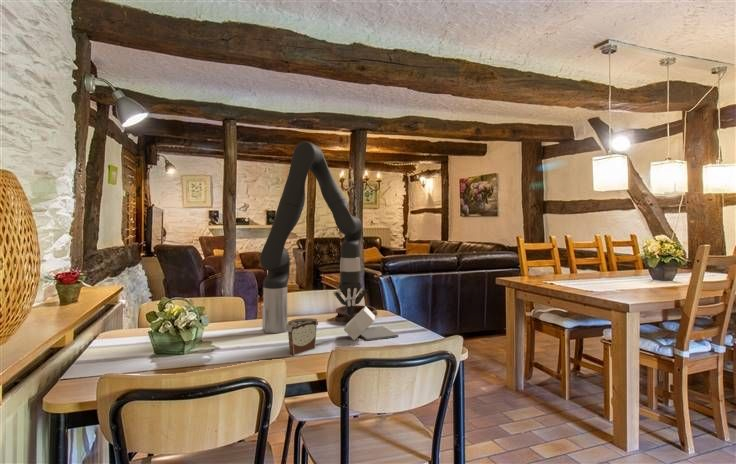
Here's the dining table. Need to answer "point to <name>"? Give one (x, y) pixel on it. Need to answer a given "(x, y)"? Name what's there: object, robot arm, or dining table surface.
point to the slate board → (377, 333)
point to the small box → (359, 323)
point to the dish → (357, 308)
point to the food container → (301, 335)
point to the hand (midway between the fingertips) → (350, 315)
